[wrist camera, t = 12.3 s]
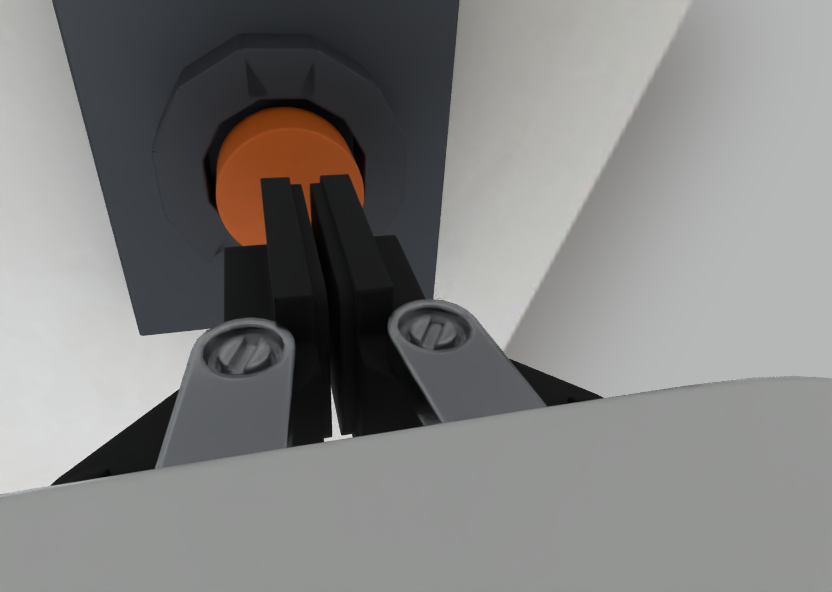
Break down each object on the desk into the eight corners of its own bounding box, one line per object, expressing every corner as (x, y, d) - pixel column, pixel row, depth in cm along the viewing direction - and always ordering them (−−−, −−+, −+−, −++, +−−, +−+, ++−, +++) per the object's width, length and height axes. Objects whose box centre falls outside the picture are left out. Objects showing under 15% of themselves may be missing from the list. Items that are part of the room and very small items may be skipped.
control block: (47, -110, 14) (-5, -109, 11) (442, -86, 17) (493, -79, 13) (146, 299, 21) (132, 373, 18) (418, 274, 23) (448, 335, 20)
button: (207, 107, 14) (205, 130, 13) (352, 104, 15) (365, 126, 14) (225, 236, 16) (225, 268, 15) (352, 227, 17) (364, 256, 16)
